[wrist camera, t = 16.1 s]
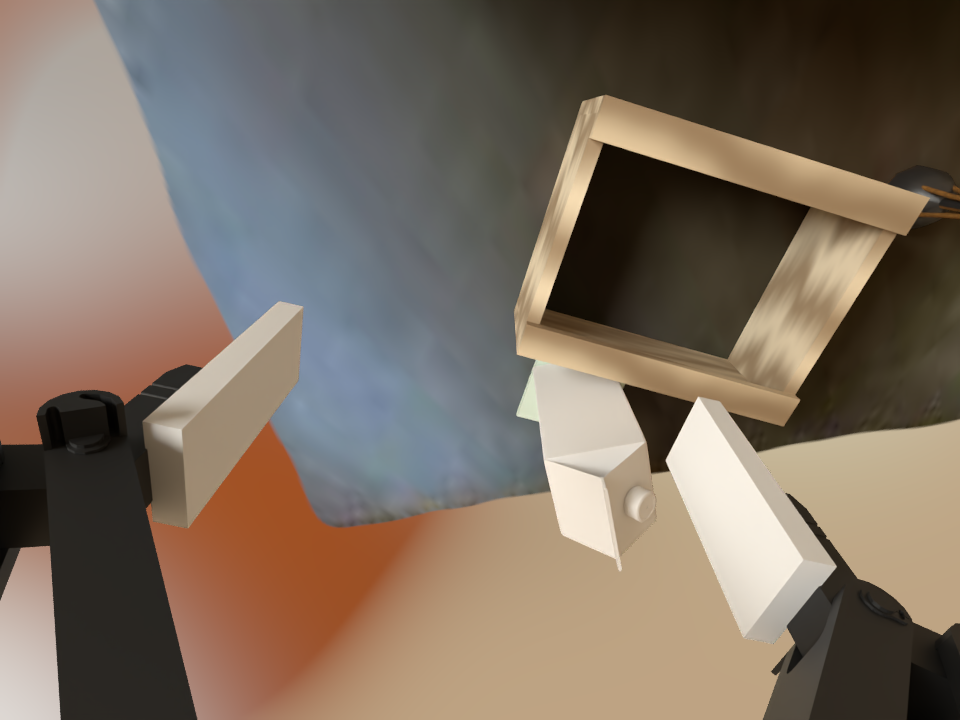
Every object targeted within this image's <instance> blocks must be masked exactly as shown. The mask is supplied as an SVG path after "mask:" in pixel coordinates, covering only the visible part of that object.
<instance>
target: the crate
mask: <svg viewBox="0 0 960 720" xmlns="http://www.w3.org/2000/svg"><path fill="white" fill-rule="evenodd" d="M603 143H606V144H610V145H613V146H616V147H619V148H623V149H626V150H629V151H632V152H636V153H639V154H642V155H645V156H648V157H652V158H655V159H658V160H661V161H665V162H668V163H671V164H674V165H678V166H681V167H684V168H687V169H690V170H694V171H697V172H700V173H703V174H707V175H710V176H713V177H716V178H720V179H723V180H726V181H729V182H732V183H736V184H739V185H742V186H745V187H749V188H752V189H755V190H758V191H762V192H765V193H768V194H771V195H774V196H778V197H781V198H784V199H787V200H791V201H794V202H797V203H800V204H804V205H807V206H810V209H809V211H808V213H807V215H806V216H805V218H804V220H803V222H802V224H801V226H800V227H799V229H798V231H797V233H796V235H795V237H794V238H793V240H792V242H791V244H790V246H789V248H788V249H787V251H786V253H785V255H784V257H783V259H782V260H781V262H780V264H779V266H778V268H777V270H776V271H775V273H774V275H773V277H772V279H771V281H770V282H769V284H768V286H767V288H766V290H765V292H764V293H763V295H762V297H761V299H760V301H759V303H758V304H757V306H756V308H755V310H754V312H753V314H752V315H751V317H750V319H749V321H748V323H747V324H746V326H745V328H744V330H743V332H742V334H741V335H740V337H739V339H738V341H737V343H736V345H735V346H734V348H733V350H732V352H731V354H730V356H729V357H728V359H724V358H720V357H716V356H713V355H709V354H706V353H702V352H698V351H695V350H691V349H688V348H684V347H680V346H677V345H673V344H670V343H666V342H663V341H659V340H655V339H652V338H648V337H645V336H641V335H637V334H634V333H630V332H627V331H623V330H620V329H616V328H612V327H609V326H605V325H602V324H598V323H594V322H591V321H587V320H584V319H580V318H577V317H573V316H569V315H566V314H562V313H559V312H555V311H551V310H548V309H545V307H546V304H547V302H548V299H549V296H550V293H551V290H552V287H553V285H554V282H555V279H556V276H557V273H558V270H559V268H560V265H561V262H562V259H563V256H564V253H565V251H566V248H567V245H568V242H569V239H570V236H571V234H572V231H573V228H574V225H575V222H576V219H577V217H578V214H579V211H580V208H581V205H582V202H583V199H584V197H585V194H586V191H587V188H588V185H589V182H590V180H591V177H592V174H593V171H594V168H595V165H596V163H597V160H598V157H599V154H600V151H601V148H602V146H603ZM929 199H930V198H929V197H926V196H923V195H920V194H916V193H913V192H910V191H907V190H904V189H901V188H898V187H894V186H891V185H888V184H885V183H882V182H879V181H876V180H872V179H869V178H866V177H863V176H860V175H857V174H854V173H850V172H847V171H844V170H841V169H838V168H835V167H831V166H828V165H825V164H822V163H819V162H816V161H813V160H809V159H806V158H803V157H800V156H797V155H794V154H791V153H787V152H784V151H781V150H778V149H775V148H772V147H768V146H765V145H762V144H759V143H756V142H753V141H750V140H746V139H743V138H740V137H737V136H734V135H731V134H728V133H724V132H721V131H718V130H715V129H712V128H709V127H706V126H702V125H699V124H696V123H693V122H690V121H687V120H683V119H680V118H677V117H674V116H671V115H668V114H665V113H661V112H658V111H655V110H652V109H649V108H646V107H643V106H639V105H636V104H633V103H630V102H627V101H624V100H621V99H617V98H614V97H611V96H608V95H603V96H600V97H596V98H593V99H589V100H586V101H582V104H581V107H580V110H579V113H578V116H577V119H576V122H575V125H574V128H573V131H572V134H571V138H570V141H569V144H568V147H567V150H566V153H565V156H564V159H563V162H562V165H561V168H560V171H559V175H558V178H557V181H556V184H555V187H554V190H553V193H552V196H551V199H550V202H549V205H548V208H547V211H546V215H545V218H544V221H543V224H542V227H541V230H540V233H539V236H538V239H537V242H536V245H535V248H534V251H533V255H532V258H531V261H530V264H529V267H528V270H527V273H526V276H525V279H524V282H523V285H522V288H521V291H520V295H519V298H518V301H517V304H516V307H515V310H514V315H515V331H516V346H517V355H521V356H525V357H528V358H532V359H536V360H539V361H543V362H547V363H551V364H554V365H558V366H562V367H565V368H569V369H573V370H576V371H580V372H584V373H588V374H591V375H595V376H599V377H602V378H606V379H610V380H613V381H617V382H621V383H625V384H628V385H632V386H636V387H639V388H643V389H647V390H650V391H654V392H658V393H662V394H665V395H669V396H673V397H676V398H680V399H684V400H687V401H691V402H696V400H697V398H698V397H703V398H707V399H712V400H716V401H720V402H721V403H722V405H723V406H724V408H725V409H726V410H727V411H728V412H732V413H736V414H739V415H743V416H747V417H750V418H754V419H758V420H761V421H765V422H769V423H773V424H776V425H780V426H784V425H785V423H786V422H787V420H788V419H789V417H790V416H791V414H792V412H793V411H794V409H795V408H796V406H797V405H798V403H799V402H800V399H799V398H798V397H797V396H796V395H795V394H796V393H797V391H798V389H799V388H800V386H801V385H802V383H803V381H804V380H805V378H806V377H807V375H808V374H809V372H810V370H811V369H812V367H813V366H814V364H815V363H816V361H817V359H818V358H819V356H820V355H821V353H822V351H823V350H824V348H825V347H826V345H827V344H828V342H829V340H830V339H831V337H832V336H833V334H834V333H835V331H836V329H837V328H838V326H839V325H840V323H841V321H842V320H843V318H844V317H845V315H846V314H847V312H848V310H849V309H850V307H851V306H852V304H853V303H854V301H855V299H856V298H857V296H858V295H859V293H860V291H861V290H862V288H863V287H864V285H865V284H866V282H867V280H868V279H869V277H870V276H871V274H872V273H873V271H874V269H875V268H876V266H877V265H878V263H879V261H880V260H881V258H882V257H883V255H884V254H885V252H886V250H887V249H888V247H889V246H890V244H891V242H892V241H893V239H894V238H895V236H896V235H897V234H901V235H905V236H906V235H907V233H908V232H909V230H910V229H911V227H912V226H913V224H914V222H915V221H916V219H917V218H918V216H919V215H920V213H921V211H922V210H923V208H924V207H925V205H926V204H927V202H928V201H929Z"/></svg>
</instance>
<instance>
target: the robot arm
mask: <svg viewBox="0 0 960 720" xmlns="http://www.w3.org/2000/svg"><path fill="white" fill-rule="evenodd" d="M302 319H303V307H302V306H298V305H294V304H289V303H285V302H280V301H279V302H278V303H276V304H275V305H274V306H273V307H272V308H271V309H270V310H268V311H267V312H266V313H265V314H264V315H263V316H262V317H261V318H259V319H258V320H257V321H256V322H255V323H254V324H253V325H251V326H250V327H249V328H248V329H247V330H246V331H245V332H243V333H242V334H241V335H240V336H239V337H238V338H237V339H235V340H234V341H233V342H232V343H231V344H230V345H229V346H228V347H226V348H225V349H224V350H223V351H222V352H221V353H220V354H218V355H217V356H216V357H215V358H214V359H213V360H212V361H210V362H209V363H208V364H207V365H206V366H205V367H204V368H201V367H196V366H191V365H183V366H181V367H178V368H176V369H173V370H170V371H168V372H166V373H165V374H163V375H162V376H161V377H160V378H158V379H157V380H156V381H154V382H153V384H152V386H151V385H150V386H148V387H147V388H146V389H144V390H143V391H142V392H141V394H140V395H139V394H138V395H137V396H136V397H134V398H133V399H132V400H131V401H129V402H128V403H127V404H126V405H124V403H123V401H122V400H121V399H120V397H119V396H116V395H114V394H112V393H110V392H105V391H98V390H88V391H87V390H86V391H76V392H71V393H67V394H63V395H60V396H58V397H55V398H53V399H51V400H49V401H47V402H46V403H45V404H44V405H43V406H41V407H40V408H39V410H38V413H37V416H36V417H37V421H38V426H39V430H40V434H41V439H42V443H43V444H38V445H1V441H0V600H1V597H2V594H3V592H4V589H5V587H6V584H7V582H8V579H9V577H10V574H11V571H12V569H13V566H14V564H15V561H16V559H17V556H18V554H19V551H20V548H23V547H37V546H50V553H51V568H52V582H53V583H52V585H53V601H54V617H55V633H56V650H57V666H58V681H59V698H60V713H61V720H197V716H196V712H195V708H194V704H193V700H192V696H191V692H190V687H189V683H188V679H187V675H186V671H185V667H184V663H183V659H182V655H181V651H180V647H179V642H178V639H177V634H176V630H175V626H174V622H173V618H172V614H171V610H170V606H169V602H168V598H167V593H166V590H165V585H164V581H163V577H162V573H161V569H160V565H159V561H158V557H157V553H156V548H155V545H154V541H153V536H152V532H151V528H150V524H149V520H148V516H147V512H146V508H147V507H148V505H149V504H150V503H151V506H152V516H153V521H154V522H159V523H164V524H168V525H174V526H178V527H184V528H189V526H190V525H191V524H192V522H193V521H194V520H195V518H196V517H197V515H198V514H199V513H200V511H201V510H202V509H203V508H204V506H205V505H206V503H207V502H208V501H209V499H210V498H211V497H212V496H213V494H214V493H215V491H216V490H217V489H218V487H219V486H220V485H221V483H222V482H223V480H224V479H225V478H226V477H227V475H228V474H229V473H230V471H231V470H232V469H233V467H234V466H235V465H236V463H237V462H238V461H239V459H240V458H241V457H242V455H243V454H244V452H245V451H246V450H247V448H248V447H249V446H250V445H251V443H252V442H253V440H254V439H255V437H257V435H258V434H259V432H260V431H261V430H262V429H263V427H264V426H265V425H266V423H267V422H268V420H269V419H270V418H271V416H272V415H273V414H274V412H275V411H276V410H277V408H278V407H279V406H280V404H281V403H282V402H283V400H284V399H285V398H286V396H287V395H288V394H289V392H290V391H291V390H292V388H293V387H294V386H295V384H296V383H297V382H298V379H299V364H300V349H301V334H302ZM666 463H667V465H668V467H669V470H670V472H671V474H672V476H673V479H674V481H675V483H676V485H677V488H678V490H679V492H680V495H681V497H682V499H683V501H684V504H685V506H686V508H687V511H688V513H689V515H690V517H691V520H692V522H693V524H694V526H695V529H696V531H697V533H698V535H699V538H700V540H701V542H702V544H703V547H704V549H705V551H706V554H707V556H708V558H709V561H710V563H711V565H712V567H713V570H714V572H715V574H716V576H717V579H718V581H719V583H720V586H721V588H722V590H723V592H724V595H725V597H726V599H727V601H728V604H729V606H730V608H731V610H732V613H733V615H734V617H735V620H736V622H737V624H738V626H739V629H740V631H741V633H742V635H743V638H746V639H752V640H756V641H761V642H766V643H771V644H774V643H775V642H776V641H777V639H778V638H779V637H780V636H781V634H782V633H783V632H784V631H785V630H786V628H788V630H789V632H790V634H791V635H792V638H793V639H794V641H795V644H794V645H793V647H792V648H791V649H790V650H789V651H788V652H787V653H786V655H785V656H784V657H783V658H782V659H781V661H780V662H779V663H778V664H777V665H776V666H775V668H774V669H773V670H772V671H771V672H772V673H773V674H774V675H777V674H778V673H779V672H780V674H779V676H778V679H777V682H776V685H775V687H774V690H773V693H772V696H771V698H770V701H769V704H768V707H767V710H766V712H765V715H764V718H763V720H960V624H958V623H956V624H954V625H953V626H951V627H950V628H949V629H948V630H947V631H946V632H945V633H944V634H943V635H940V634H938V633H936V632H933V631H931V630H929V629H927V628H924V627H922V626H920V625H918V624H915V623H913V622H912V619H911V617H910V616H909V614H908V613H907V611H906V610H905V608H904V607H903V606H902V605H901V604H900V603H899V602H898V601H897V600H896V599H894V598H893V597H892V596H891V595H889V594H888V593H887V592H885V591H884V590H882V589H881V588H879V587H877V586H875V585H873V584H871V583H869V582H866V581H863V580H859V579H857V577H856V576H855V575H854V573H853V572H852V570H851V569H850V568H849V566H848V565H847V564H846V562H845V561H844V560H843V558H842V557H841V556H840V554H839V553H838V551H837V550H836V549H835V547H834V546H833V545H832V543H831V542H830V540H828V539H826V535H825V534H824V532H823V531H822V529H821V528H820V527H817V523H816V521H815V520H814V519H813V517H812V516H811V514H810V513H809V512H808V510H807V509H806V508H805V507H804V506H803V505H801V504H800V503H799V502H798V501H797V500H796V499H795V498H794V497H792V496H791V495H790V494H787V493H785V492H784V491H783V490H782V488H781V487H780V485H779V484H778V483H777V481H776V480H775V479H774V477H773V476H772V474H771V473H770V471H769V470H768V469H767V467H766V466H765V464H764V463H763V461H762V460H761V459H760V457H759V456H758V454H757V453H756V451H755V450H754V449H753V447H752V446H751V444H750V443H749V442H748V440H747V439H746V437H745V436H744V435H743V433H742V432H741V430H740V429H739V427H738V426H737V425H736V423H735V422H734V420H733V419H732V418H731V416H730V415H729V413H728V412H727V410H726V409H725V408H724V406H723V405H722V403H721V402H720V401H716V400H712V399H707V398H703V397H698V398H697V400H696V402H695V404H694V406H693V408H692V410H691V412H690V414H689V415H688V417H687V419H686V421H685V423H684V425H683V427H682V429H681V431H680V433H679V435H678V437H677V439H676V441H675V443H674V445H673V447H672V449H671V451H670V453H669V455H668V457H667V459H666Z"/></svg>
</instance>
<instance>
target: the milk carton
mask: <svg viewBox="0 0 960 720" xmlns="http://www.w3.org/2000/svg"><path fill="white" fill-rule="evenodd" d="M533 376H534V384H535V392H536V400H537V408H538V416H539V424H540V432H541V440H542V448H543V456H544V463H545V468H546V472H547V476H548V480H549V485H550V489H551V493H552V497H553V501H554V505H555V510H556V514H557V518H558V522H559V526H560V530H561V533H562V535H563V536H565V537H568V538H570V539H572V540H574V541H577V542H579V543H581V544H583V545H586V546H588V547H590V548H592V549H595V550H597V551H599V552H601V553H603V554H606V555H608V556H610V557H613V558H615V559H616V562H617V566H618V570H619V571H621V570H622V568H621V562H620V556H622V554H624V553H625V552H626V551H627V550H628V549H629V547H631V546H632V545H633V544H634V543H635V542H636V541H637V540H638V539H639V538H640V537H641V536H642V534H643V533H644V532H646V531H647V529H649V528H650V527H651V526H652V525H653V523H654V522H655V521H656V509H655V507H656V496H655V494H654V493H653V485H652V478H651V470H650V463H649V455H648V448H647V443H646V440H645V437H644V435H643V433H642V431H641V428H640V426H639V424H638V422H637V420H636V417H635V415H634V413H633V411H632V409H631V406H630V404H629V402H628V400H627V398H626V396H625V393H624V391H623V389H622V387H621V385H620V382H617V381H613V380H610V379H606V378H602V377H599V376H595V375H591V374H588V373H584V372H580V371H576V370H573V369H569V368H565V367H562V366H558V365H554V364H551V363H550V364H545V365H540V366H535V367H533Z"/></svg>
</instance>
